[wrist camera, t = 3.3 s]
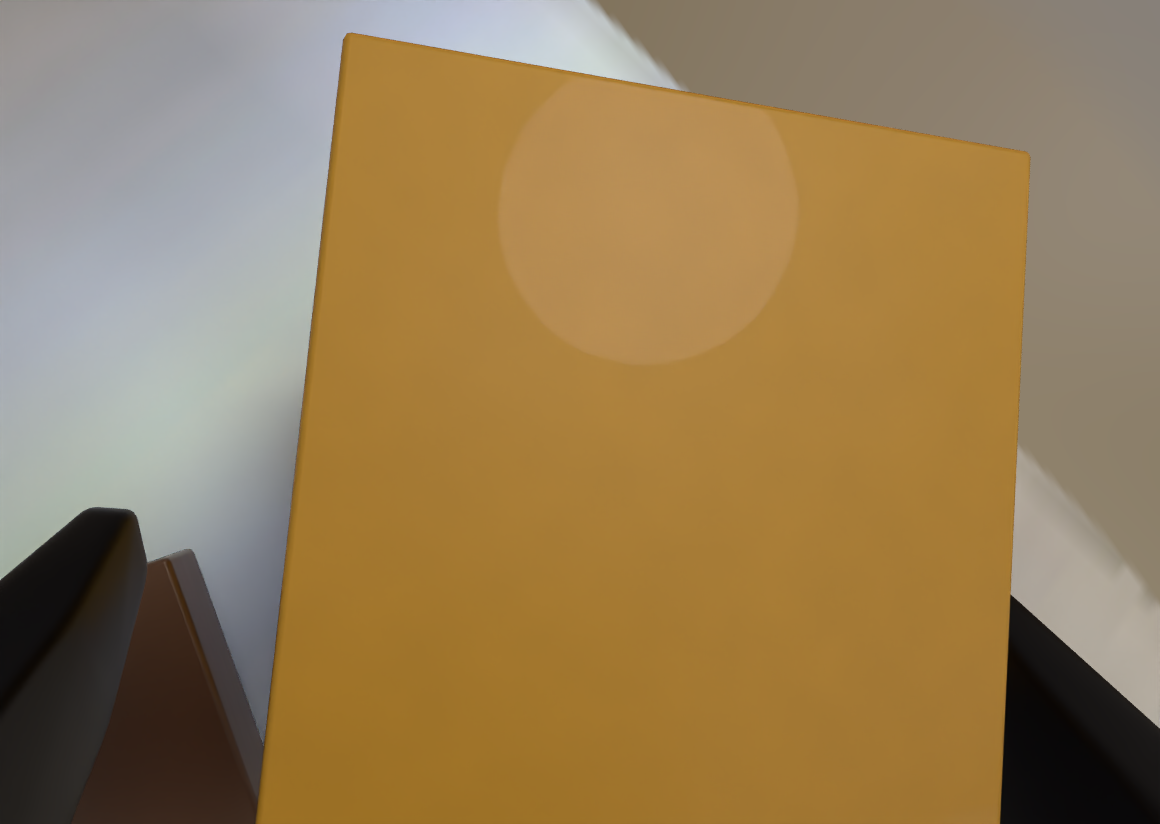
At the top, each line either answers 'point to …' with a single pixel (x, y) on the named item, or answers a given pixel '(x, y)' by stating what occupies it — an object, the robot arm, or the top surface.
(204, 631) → the board stand
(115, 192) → the top surface
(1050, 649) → the robot arm
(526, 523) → the block
